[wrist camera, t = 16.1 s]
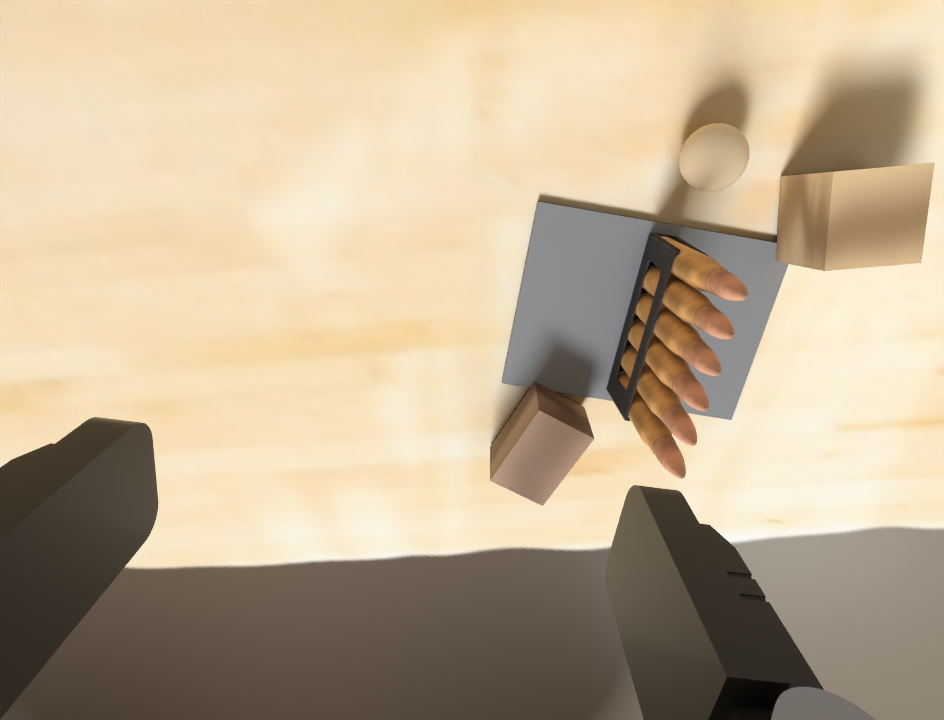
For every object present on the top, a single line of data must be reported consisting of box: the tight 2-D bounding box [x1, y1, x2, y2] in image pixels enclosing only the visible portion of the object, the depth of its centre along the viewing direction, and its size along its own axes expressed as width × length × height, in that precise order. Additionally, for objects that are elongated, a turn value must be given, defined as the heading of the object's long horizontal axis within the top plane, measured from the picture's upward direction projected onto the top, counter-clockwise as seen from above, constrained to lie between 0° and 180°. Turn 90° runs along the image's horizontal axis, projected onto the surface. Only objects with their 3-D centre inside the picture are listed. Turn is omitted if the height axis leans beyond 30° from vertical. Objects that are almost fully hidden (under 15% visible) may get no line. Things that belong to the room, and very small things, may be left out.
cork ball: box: [679, 123, 749, 192], centre depth 31 cm, size 4×4×4 cm
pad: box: [502, 201, 788, 420], centre depth 36 cm, size 12×16×1 cm
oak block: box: [776, 163, 934, 271], centre depth 31 cm, size 5×5×5 cm
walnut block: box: [490, 381, 594, 506], centre depth 37 cm, size 4×6×4 cm, turn 151°
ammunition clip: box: [606, 232, 748, 479], centre depth 30 cm, size 11×2×12 cm, turn 171°
